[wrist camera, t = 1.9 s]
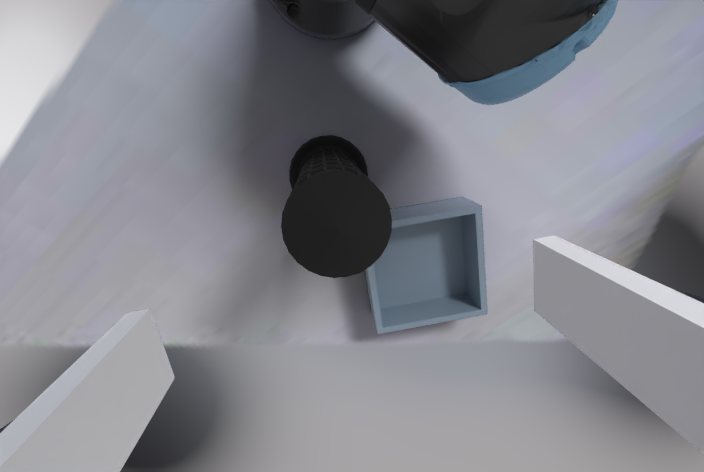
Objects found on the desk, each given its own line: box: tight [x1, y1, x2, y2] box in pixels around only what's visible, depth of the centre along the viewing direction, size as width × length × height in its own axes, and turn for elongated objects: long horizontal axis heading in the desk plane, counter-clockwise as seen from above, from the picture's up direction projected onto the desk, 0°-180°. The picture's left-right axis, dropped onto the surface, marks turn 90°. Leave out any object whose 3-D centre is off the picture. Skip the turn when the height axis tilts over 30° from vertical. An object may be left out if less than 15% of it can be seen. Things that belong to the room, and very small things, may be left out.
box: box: [365, 197, 487, 334], centre depth 48 cm, size 15×15×6 cm
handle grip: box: [281, 135, 392, 278], centre depth 35 cm, size 10×26×10 cm
